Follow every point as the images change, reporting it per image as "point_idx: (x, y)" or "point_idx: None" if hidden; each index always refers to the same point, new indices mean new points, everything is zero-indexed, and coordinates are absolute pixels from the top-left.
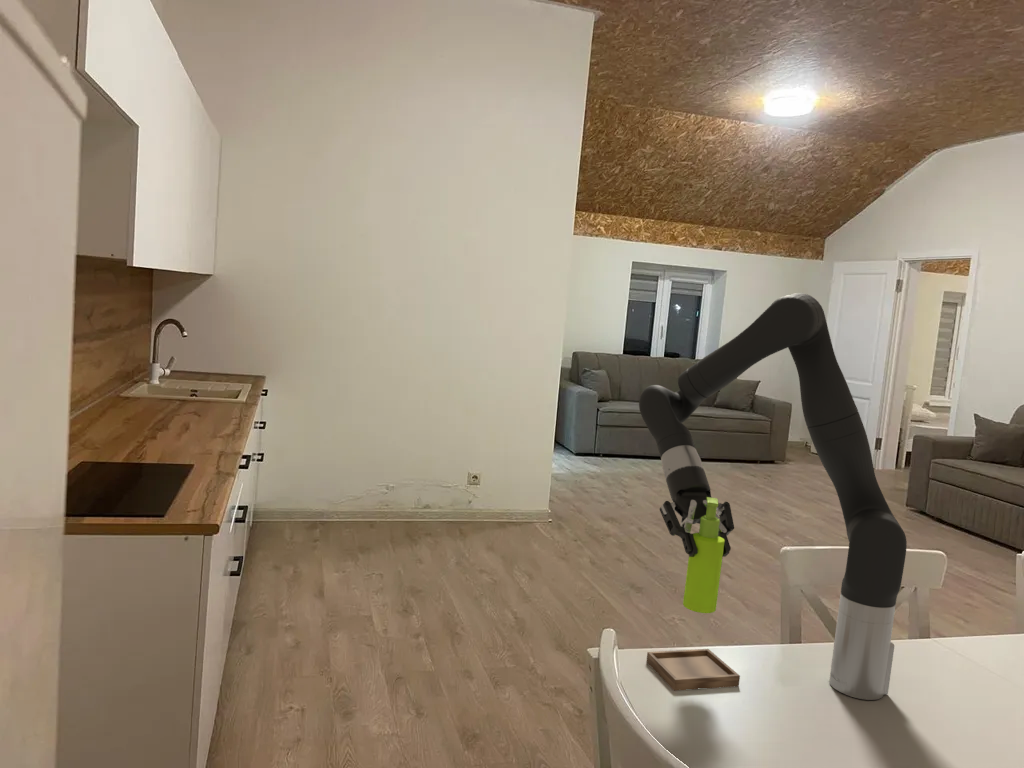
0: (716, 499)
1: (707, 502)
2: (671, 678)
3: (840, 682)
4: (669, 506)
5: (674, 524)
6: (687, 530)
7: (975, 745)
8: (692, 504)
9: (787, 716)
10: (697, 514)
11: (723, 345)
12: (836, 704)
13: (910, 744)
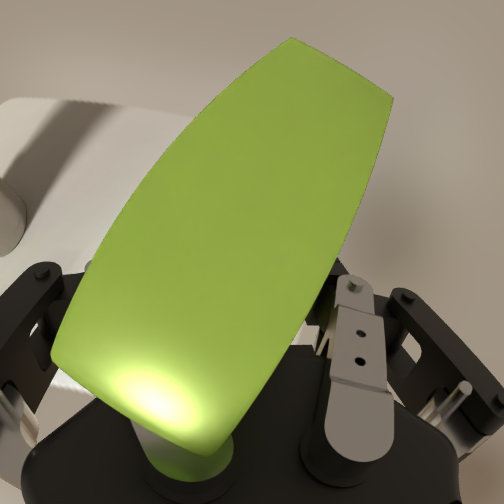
0: (218, 119)
1: (390, 105)
2: None
3: (21, 214)
4: (486, 389)
5: (426, 304)
6: (357, 280)
7: (12, 114)
8: (370, 408)
9: (138, 182)
10: (286, 370)
11: None
12: (54, 195)
13: (60, 119)
